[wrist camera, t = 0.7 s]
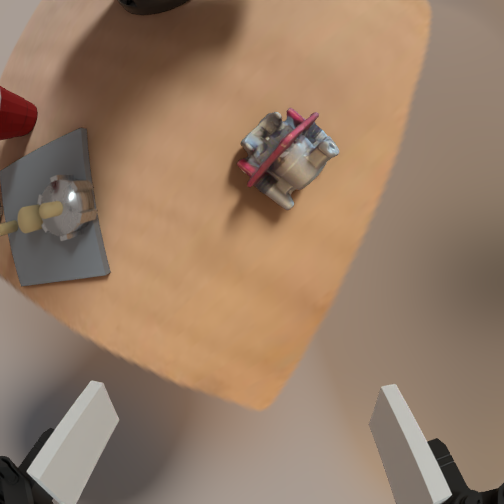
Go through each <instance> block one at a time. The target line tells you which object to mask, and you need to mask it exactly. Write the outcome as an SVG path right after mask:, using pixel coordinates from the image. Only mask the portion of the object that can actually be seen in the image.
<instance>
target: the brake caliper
mask: <svg viewBox="0 0 504 504" xmlns="http://www.w3.org/2000/svg"><path fill="white" fill-rule="evenodd" d="M318 116H319V114H318V113H317V112H315V113H313V114H311V115H310V117H309V118H307V119H304V118H303V117H302V116H300V115H299V114H298V113H297V112H296V111H295V110H294V109H292V108H289V109H288V110H287V120H286V121H284V122H282V119H281V118H282V116H281V115H280V114H279V113H278V112H274V113H269V114H267V115H266V116H265V117H264V118H263V119H262V120H261V121H260V123H259V124H258V126H257V127H256V128H255V129H253V130H252V131H251V132H250V133H249V134H248V135H247V136H246V137H245V138H244V139H243V140H242V141H241V143H240V144H241V146H243V148H244V149H245V150H246V152H247V153H248V157H247V158H243V159H240V160H239V161H238V162H237V165H238V167H239V168H241V169H242V172H243V173H246V174H247V175H248V176H249V177H250V179H249V181H248V182H247V186H248V187H252V186H255V187H256V188H257V189H258V190H259V191H260V192H262V193H264V194H265V195H267V196H268V197H270V198H271V199H272V200H273V201H275V202H276V203H277V204H278V205H280V206H281V207H283V208H284V209H286V210H289V209H291V208H292V207H293V206H294V202H293V200H292V198H291V193H292V192H293V191H294V190H296V189H298V190H300V189H303V188H305V187H306V186H307V185H309V184H310V183H311V182H312V181H313V180H314V179H315V178H316V177H317V176H318V175H319V173H320V172H321V171H322V169H323V168H324V166H325V165H326V162H327V161H328V160H330V159H331V158H332V157H335V156H337V155H338V153H339V149H338V147H337V146H336V144H335V142H334V141H333V140H332V139H331V137H330V136H327V135H326V134H325V132H324V131H323V130H322V129H320V128H319V127H318V126H317V125H316V124H315V120H316V119H317V117H318Z"/></svg>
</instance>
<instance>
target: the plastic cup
mask: <svg viewBox="0 0 504 504" xmlns="http://www.w3.org/2000/svg"><path fill="white" fill-rule="evenodd" d="M37 113H38V112H37V108H36V107H35V105H33V104H32V103H31V102H29V101H27V100H25V99H24V98H22V97H20V96H18V95H16V94H14V93H12V92H10V91H8V90H6V89H5V88H3V87H1V86H0V140H4V139H9V138H13V137H18V136H23V135H26V134H28V133H29V132H30V131H31V130H32V129H33V127H34V125H35V123H36V120H37Z"/></svg>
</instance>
